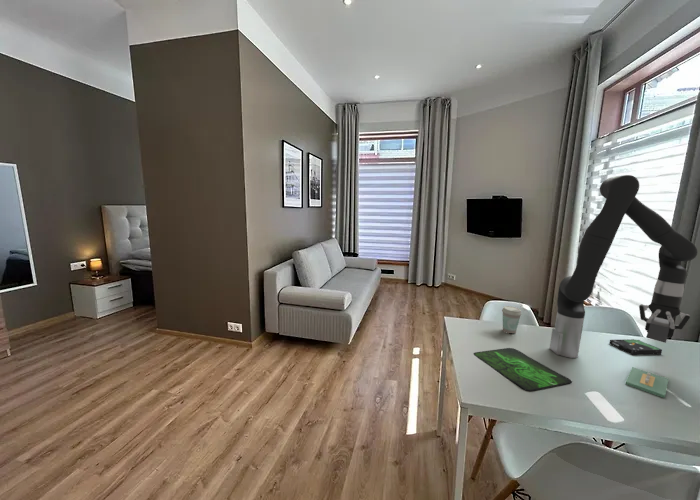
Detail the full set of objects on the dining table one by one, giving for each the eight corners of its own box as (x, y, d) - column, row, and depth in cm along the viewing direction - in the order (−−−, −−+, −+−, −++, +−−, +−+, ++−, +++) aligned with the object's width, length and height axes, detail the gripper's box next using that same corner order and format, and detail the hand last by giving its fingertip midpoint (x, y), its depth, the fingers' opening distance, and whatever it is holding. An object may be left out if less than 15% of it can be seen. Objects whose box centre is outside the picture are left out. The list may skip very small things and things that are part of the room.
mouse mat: (470, 353, 122) (470, 351, 122) (511, 347, 129) (511, 345, 129) (527, 393, 97) (527, 391, 96) (574, 384, 103) (574, 381, 103)
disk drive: (632, 356, 126) (661, 355, 128) (633, 350, 125) (662, 349, 127) (608, 345, 136) (636, 344, 138) (609, 339, 136) (637, 338, 137)
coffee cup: (503, 334, 142) (506, 310, 140) (497, 327, 150) (500, 305, 149) (521, 336, 141) (525, 312, 139) (515, 328, 149) (517, 306, 147)
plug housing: (647, 337, 113) (650, 323, 112) (650, 330, 120) (653, 316, 119) (665, 342, 109) (669, 327, 108) (667, 334, 116) (671, 320, 116)
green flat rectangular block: (625, 384, 104) (626, 377, 103) (632, 369, 114) (633, 363, 113) (664, 398, 96) (666, 391, 96) (668, 381, 107) (669, 374, 106)
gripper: (640, 289, 115) (631, 330, 117) (696, 299, 104) (685, 344, 107) (642, 286, 119) (634, 325, 122) (696, 296, 109) (685, 339, 111)
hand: (658, 334), depth 114 cm, fingers closed on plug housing, 5 cm apart
